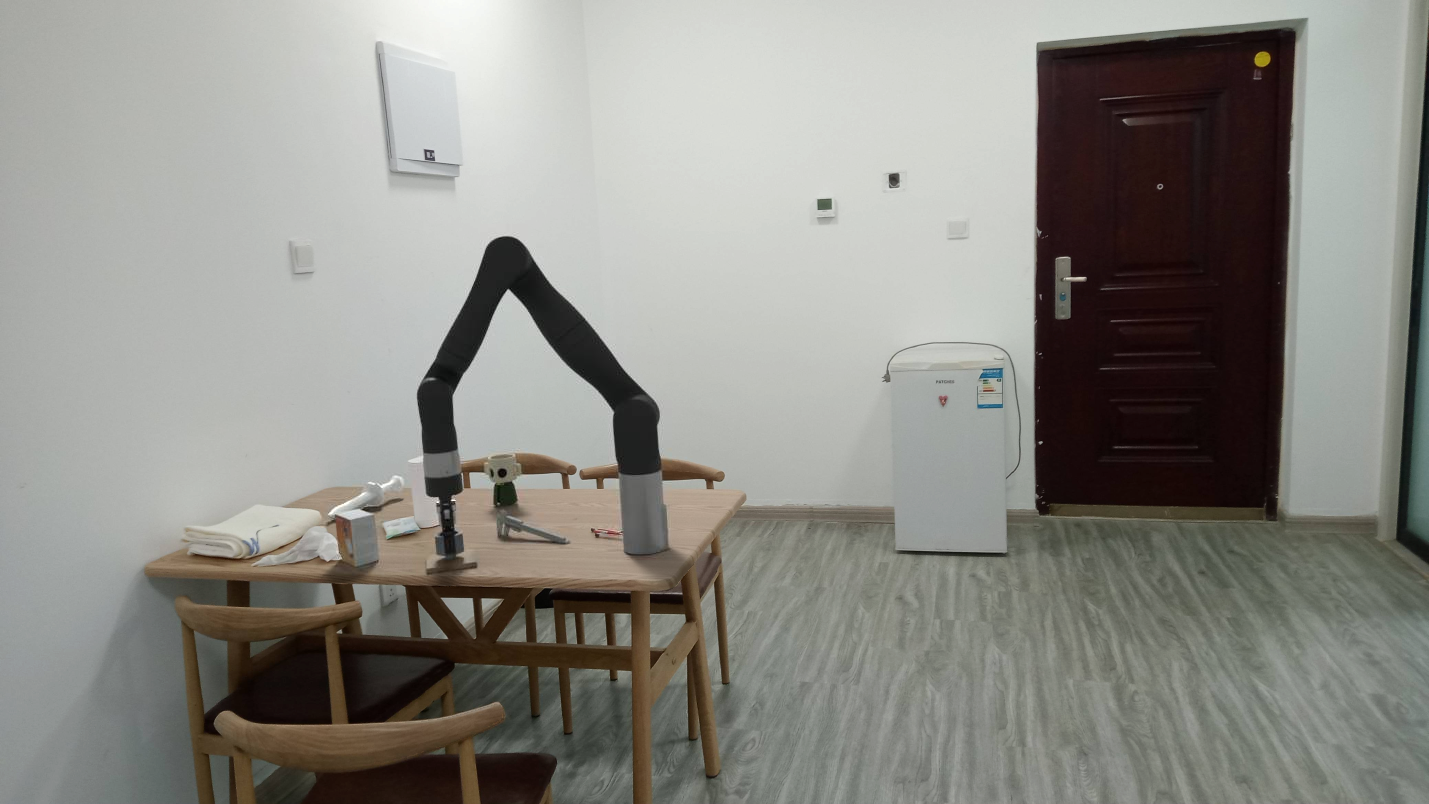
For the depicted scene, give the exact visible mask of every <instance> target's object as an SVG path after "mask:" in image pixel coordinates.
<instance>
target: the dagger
mask: <svg viewBox="0 0 1429 804" xmlns="http://www.w3.org/2000/svg"><path fill="white" fill-rule="evenodd" d="M404 487H405V482H404V478H403V477H401V476H398V475H393V476H392V477H391V478H390V479H389V480H388V481H387V483H383V484H381V485H380V484H379V483H378V482H373V481H369V482H367V483H366V484H365V485H364V487H363V488H362V490H361V494H360V495H357V496H355V497H354V498H352V499H350V500H348V501H346V502H345V503H343V504H341V505H338V506H336V507H334V508H333V509H332V510H331V511H330V512H329V513H328V514H327V517H328V518H329V519H330V520H335V514H337V513H342V512H346V511H351V510H355V509H360V510H362V509H363V508H364V507H365V506H368V505H380V506H381V505H382V503H383V501H384V500H385V499H386V497H385V496H386V495H388V493H389V492H391V491H394V492H395V493H399V492H401V491H402V490H403V488H404ZM367 504H368V505H367Z"/></svg>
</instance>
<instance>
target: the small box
mask: <svg viewBox="0 0 1429 804" xmlns="http://www.w3.org/2000/svg"><path fill="white" fill-rule="evenodd" d="M334 520H335V529H336V539H337V548H338V555H339V554H340V555H341V557H342V560H341V562H344V563H346V564H348V565H351V566H352V567H354V568H357V566H358V567H360V566H365V565H369V564H371V562H372V563H375V562H374V561H376V562H378V561H377V560H379V561H380V556H379V555H380V554H379V544H378V543H379V542H378V536H377V535H378V533H377V525H376V524H377V523H376V514H374V513H371V512H368V511H365V510H363V509H355V510H351V511H346V512H342V513H337V514H335V519H334Z"/></svg>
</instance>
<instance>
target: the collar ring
mask: <svg viewBox="0 0 1429 804" xmlns="http://www.w3.org/2000/svg"><path fill="white" fill-rule="evenodd" d="M454 529H455V532H456V534H455V545H456V553H455V554H449V555H447V554H445V546H444V538H443V536H442V533H443V532H442V530H441V531H438V532H436V533H434V540H435V551H436V553H435V554H437V555H439V556H451V555H457V554H459V553H462V552H464V550H465V545H464V535H463V530H462V529H456V528H454ZM445 531H447V530H445Z"/></svg>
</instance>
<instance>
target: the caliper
mask: <svg viewBox="0 0 1429 804" xmlns="http://www.w3.org/2000/svg"><path fill="white" fill-rule="evenodd" d="M507 514H508V511H507V510H505V511H504V508H503V509H500V510H499V513H497V515H496V522H495V523H496V533H497V535H498V536H501V535H502V534H503V536H504V537H506V536H508V535H509V534H510V533H509V532H510V530H513V531H514V532H517V533H521V532H523V531H524V532H526V533H529V534H532V535H535V536H537V537H541V538H543V539H547V540H549V541H552V542H554V543H556V544H557V543H558V544H565V545H568V544H570V543H571V541H570V540H568V539H567V537H566V536H564V535H560V534H558V533H555V532H552V531H550V530H546V529H543V528H540V527H537V526H534V525H531V524H528V523H525V522H524V520H522V519H520V518H519V519H518V518H516V517H513V516H511V515H507Z"/></svg>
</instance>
